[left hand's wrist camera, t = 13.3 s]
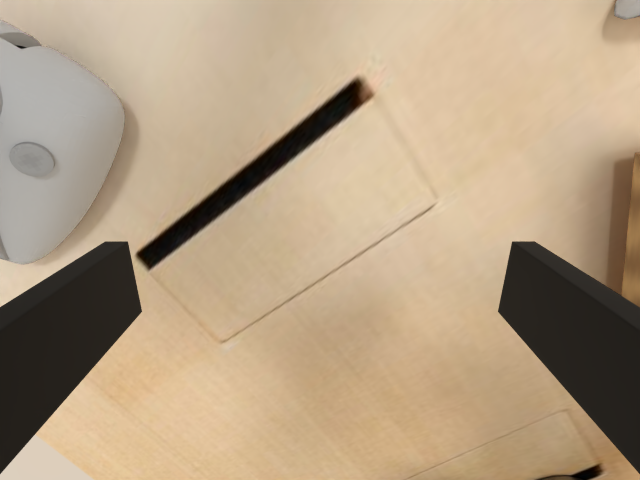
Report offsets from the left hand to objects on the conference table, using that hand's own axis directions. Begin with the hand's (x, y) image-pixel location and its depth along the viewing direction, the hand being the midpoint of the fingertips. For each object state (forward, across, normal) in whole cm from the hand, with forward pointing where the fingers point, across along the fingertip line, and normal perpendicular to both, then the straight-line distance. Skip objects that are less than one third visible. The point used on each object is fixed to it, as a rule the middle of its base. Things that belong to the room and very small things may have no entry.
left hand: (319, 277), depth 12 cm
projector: (+27, -29, +1) cm, 40 cm away
